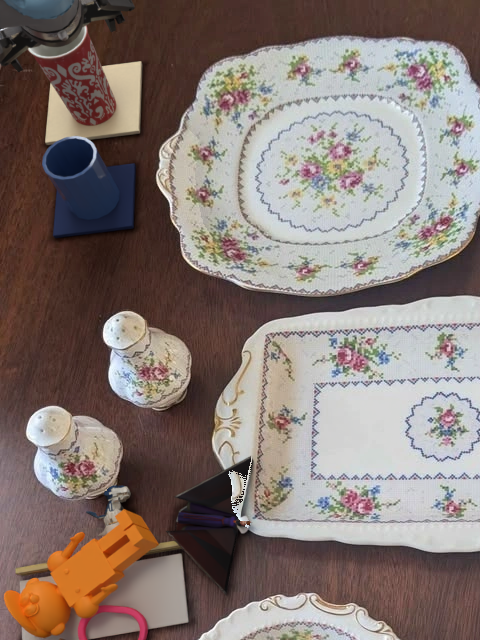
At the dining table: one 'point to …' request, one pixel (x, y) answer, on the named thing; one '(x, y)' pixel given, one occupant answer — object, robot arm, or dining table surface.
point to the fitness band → (115, 609)
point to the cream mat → (123, 121)
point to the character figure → (211, 524)
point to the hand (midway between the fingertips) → (62, 40)
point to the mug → (78, 79)
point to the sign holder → (131, 597)
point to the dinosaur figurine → (112, 507)
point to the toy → (80, 577)
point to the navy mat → (113, 221)
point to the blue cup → (81, 177)
